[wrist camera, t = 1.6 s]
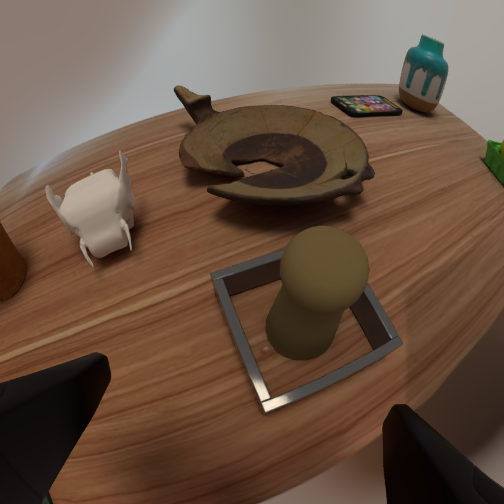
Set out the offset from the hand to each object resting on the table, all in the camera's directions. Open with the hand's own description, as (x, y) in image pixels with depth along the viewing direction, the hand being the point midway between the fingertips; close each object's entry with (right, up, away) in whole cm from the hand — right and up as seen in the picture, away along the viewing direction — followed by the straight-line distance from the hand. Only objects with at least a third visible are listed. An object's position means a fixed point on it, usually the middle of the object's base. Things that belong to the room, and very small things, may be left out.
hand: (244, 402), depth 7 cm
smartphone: (+24, +34, +42) cm, 59 cm away
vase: (+39, +38, +45) cm, 71 cm away
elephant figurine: (-16, +6, +22) cm, 28 cm away
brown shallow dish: (+2, +17, +30) cm, 35 cm away
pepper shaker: (+4, -2, +16) cm, 17 cm away
